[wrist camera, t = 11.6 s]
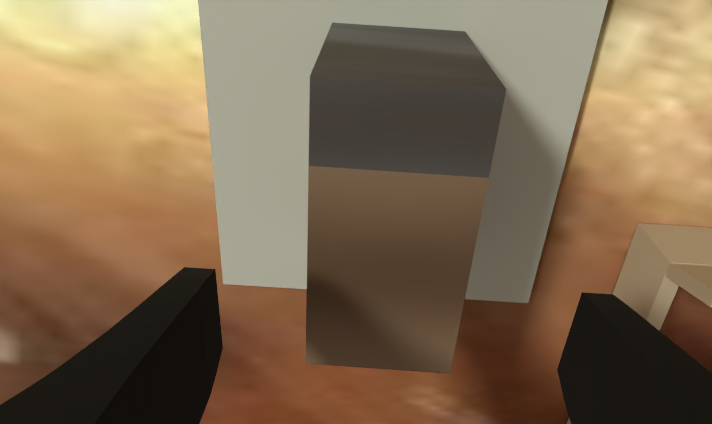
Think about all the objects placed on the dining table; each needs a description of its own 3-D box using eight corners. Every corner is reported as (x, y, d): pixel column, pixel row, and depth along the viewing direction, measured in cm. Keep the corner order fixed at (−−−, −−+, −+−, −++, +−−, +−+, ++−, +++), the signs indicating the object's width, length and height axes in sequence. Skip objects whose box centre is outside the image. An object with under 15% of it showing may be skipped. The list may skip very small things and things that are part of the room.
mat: (525, 295, 21) (528, 303, 21) (226, 276, 22) (223, 284, 21) (609, -33, 16) (616, -32, 15) (198, -57, 16) (193, -56, 15)
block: (431, 252, 20) (450, 373, 15) (324, 245, 20) (305, 363, 15) (465, 31, 16) (506, 89, 11) (332, 22, 16) (309, 76, 11)
